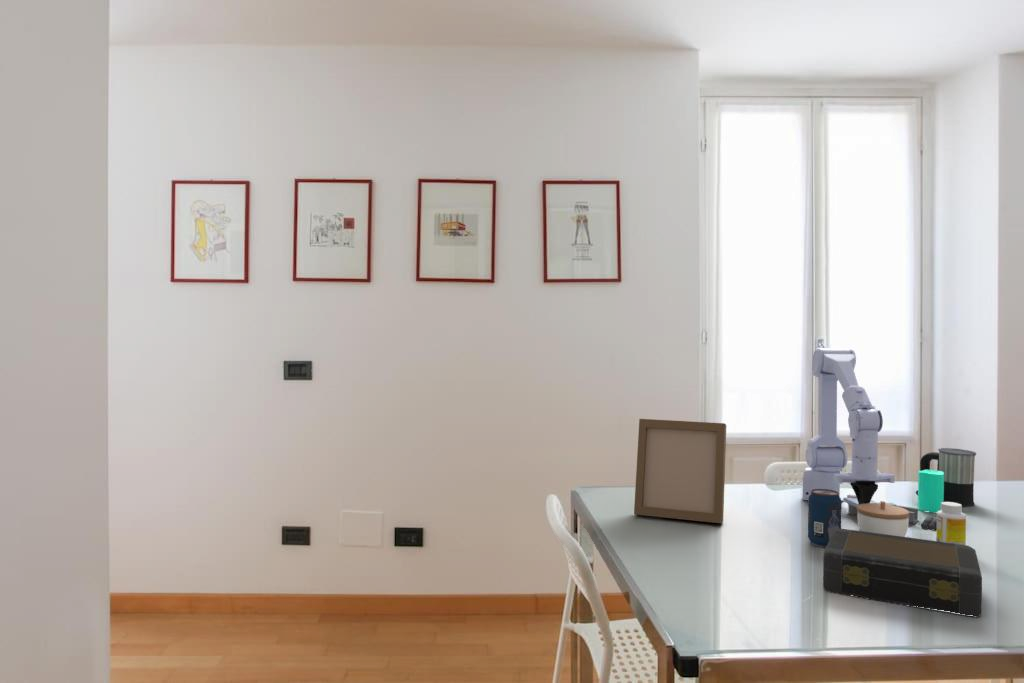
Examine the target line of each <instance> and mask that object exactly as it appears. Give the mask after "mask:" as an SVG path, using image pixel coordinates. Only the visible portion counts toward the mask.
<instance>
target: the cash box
mask: <svg viewBox="0 0 1024 683" xmlns="http://www.w3.org/2000/svg"><path fill="white" fill-rule="evenodd" d="M978 559H979V558H978V555H977V551H976V549H975V548H973V547H972V546H969V545H961V544H953V543H946V542H938V541H936V540H931V539H921V538H916V537H909V536H908V537H906V536H905V537H901V536H894V535H886V534H879V533H871V532H864V531H860V530H856V529H848V528H841V529H836V530H834V531H833V533H832V535H831V537H830V540H829V542H828V544H827V547H826V548H825V549H824V552H823V564H822V565H823V566H822V567H823V568H822V569H823V571H822V587H823V589H824V590H825V591H826V592H829V593H832V592H833V593H832V594H837V593H839V594H838V595H843V594H845V595H844V596H849V595H853V596H852V597H854V596H857V597H856V598H860V597H863V598H862V599H866V598H868V599H867V600H871V599H873V600H872V601H877V600H878V602H883V601H884V603H888V602H890V603H889V604H894V603H895V604H896V605H900V604H902V605H901V606H905V605H909V606H908V607H911V606H916V607H915V608H917V606H918V607H924V608H930V609H937V610H944V611H950V612H955V613H960V614H965V615H973V616H979V615H980V614H981V615H982V603H983V600H982V599H983V598H982V597H983V595H982V594H983V576H982V571H981V567H980V564H979V560H978ZM981 615H980V616H981ZM980 616H979V617H980Z"/></svg>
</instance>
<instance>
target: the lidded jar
mask: <svg viewBox="0 0 1024 683" xmlns="http://www.w3.org/2000/svg"><path fill="white" fill-rule="evenodd" d="M879 503H880V504H877V503H866V504H860V505H858V506H857V516H856V517H857V519H856V520H857V524H858V528H859V531H864V532H871V533H879V534H886V535H894V536H901V537H906V535H907V533H908V530H909V529H908V528H909V524H908V523H909V511H908V510H906V509H904V508H901V507H898V506H899V505H898V506H893V505H887V504H885V503H886V501H883V500H881V501H880V502H879Z"/></svg>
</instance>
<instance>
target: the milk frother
mask: <svg viewBox="0 0 1024 683" xmlns="http://www.w3.org/2000/svg"><path fill="white" fill-rule="evenodd" d="M937 451H938V452H935V451H933V452H927V453H925V454H924V455H923V456H922V457H921V459H920V461H919V462H920V463H919V471H923V470H931V462H932V460H935V461H937V465H936V466H937V469H936V471H943V473H944V502H954V503H958V504H961V505H963V506H962V507H971V506H974V505H975V502H974V500H975V499H974V492H975V491H974V485H975V484H974V481H975V457H976V455H977V452H976V451H972V450H968V449H961V448H951V447H950V448H949V447H945V448H944V447H941V448H938V449H937ZM915 494H916V496H918V490H916V491H915Z"/></svg>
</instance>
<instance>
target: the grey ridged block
mask: <svg viewBox="0 0 1024 683" xmlns="http://www.w3.org/2000/svg"><path fill="white" fill-rule="evenodd" d="M920 527H921V528H922V529H924V528H927V529H929V530H931V529H935V530H937V515H936V516H933V515H927V516H926V517H925V519H924V520H922V522H921V524H920Z"/></svg>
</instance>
